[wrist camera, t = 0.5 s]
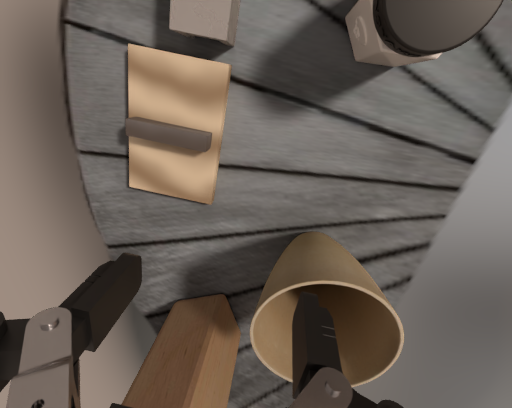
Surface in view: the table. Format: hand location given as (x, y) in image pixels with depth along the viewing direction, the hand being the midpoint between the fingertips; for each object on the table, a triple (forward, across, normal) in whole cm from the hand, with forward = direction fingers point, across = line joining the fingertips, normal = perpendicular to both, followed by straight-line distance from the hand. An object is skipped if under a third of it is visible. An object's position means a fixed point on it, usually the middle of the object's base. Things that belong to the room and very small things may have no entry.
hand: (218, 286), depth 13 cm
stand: (+25, +12, -1) cm, 28 cm away
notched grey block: (+26, +9, -16) cm, 32 cm away
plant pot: (+25, -10, +13) cm, 30 cm away
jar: (+26, -10, -17) cm, 33 cm away
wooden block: (+25, +4, +31) cm, 40 cm away
